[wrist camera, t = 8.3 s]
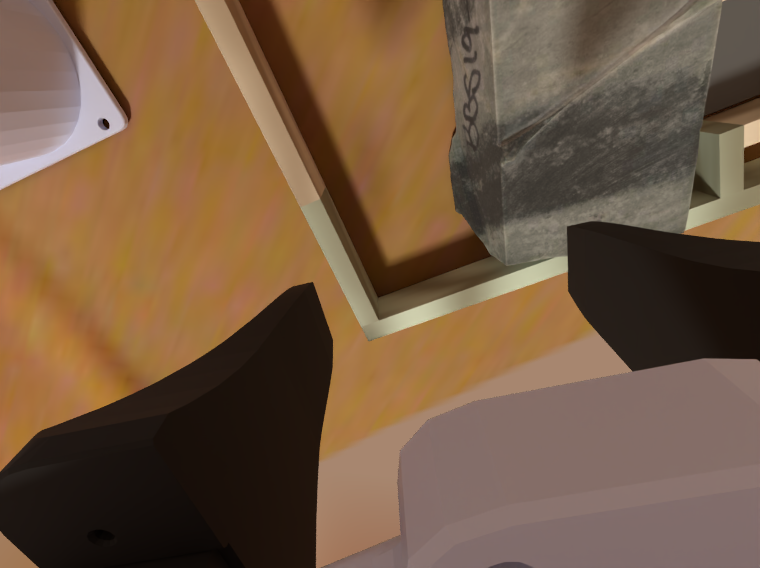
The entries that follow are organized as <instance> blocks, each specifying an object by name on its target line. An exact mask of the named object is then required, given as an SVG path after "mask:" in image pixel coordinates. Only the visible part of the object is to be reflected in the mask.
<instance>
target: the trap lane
mask: <svg viewBox="0 0 760 568" xmlns="http://www.w3.org/2000/svg"><path fill="white" fill-rule="evenodd" d="M723 1H725V0H722V2H723ZM195 2H196V4H197V6H198V8H199V10H200V12H201V14H202V16H203V17H204V19H205V21H206V23H207V25H208V27H209V29H210V31H211V33H212V35H213V37H214V39H215V41H216V43H217V45H218V47H219V49H220V51H221V53H222V55H223V57H224V59H225V61H226V63H227V65H228V66H229V68H230V70H231V72H232V74H233V76H234V78H235V80H236V82H237V84H238V86H239V88H240V90H241V92H242V94H243V96H244V98H245V100H246V102H247V104H248V106H249V108H250V110H251V112H252V114H253V116H254V117H255V119H256V121H257V123H258V125H259V127H260V129H261V131H262V133H263V135H264V137H265V139H266V141H267V143H268V145H269V147H270V149H271V151H272V153H273V155H274V157H275V159H276V161H277V163H278V165H279V166H280V168H281V170H282V172H283V174H284V176H285V178H286V180H287V182H288V184H289V186H290V188H291V190H292V192H293V194H294V196H295V198H296V200H297V202H298V204H299V206H300V208H301V210H302V212H303V214H304V216H305V217H306V219H307V221H308V223H309V225H310V227H311V229H312V231H313V233H314V235H315V237H316V239H317V241H318V243H319V245H320V247H321V249H322V251H323V253H324V255H325V257H326V259H327V261H328V263H329V265H330V266H331V268H332V270H333V272H334V274H335V276H336V278H337V280H338V282H339V284H340V286H341V288H342V290H343V292H344V294H345V296H346V298H347V300H348V302H349V304H350V306H351V308H352V310H353V312H354V314H355V316H356V317H357V319H358V321H359V323H360V325H361V327H362V329H363V331H364V333H365V335H366V337H367V339H368V341H371V340H374V339H377V338H380V337H382V336H385V335H388V334H391V333H394V332H397V331H400V330H402V329H405V328H408V327H411V326H414V325H417V324H420V323H422V322H425V321H428V320H431V319H434V318H437V317H439V316H442V315H445V314H448V313H451V312H454V311H457V310H459V309H462V308H465V307H468V306H471V305H474V304H477V303H479V302H482V301H485V300H488V299H491V298H494V297H497V296H499V295H502V294H505V293H508V292H511V291H514V290H517V289H519V288H522V287H525V286H528V285H531V284H534V283H536V282H539V281H542V280H545V279H548V278H551V277H554V276H556V275H559V274H562V273H565V272H568V256H567V257H554V258H547V259H541V260H537V261H532V262H525V263H520V264H515V265H508V266H506V265H505V264H504V263H503V262H500V261H499V260H498V259H497V258H496V257H494V256H490V257H488V258H485V259H482V260H480V261H477V262H474V263H471V264H469V265H466V266H463V267H460V268H458V269H455V270H452V271H450V272H447V273H444V274H441V275H439V276H436V277H433V278H430V279H428V280H425V281H422V282H420V283H417V284H414V285H411V286H409V287H406V288H403V289H401V290H398V291H395V292H392V293H390V294H387V295H384V296H381V297H379V298H378V297H377V294H376V292H375V290H374V288H373V286H372V284H371V282H370V279H369V277H368V275H367V273H366V271H365V269H364V267H363V265H362V262H361V260H360V258H359V256H358V254H357V252H356V250H355V247H354V245H353V243H352V241H351V239H350V237H349V235H348V233H347V230H346V228H345V226H344V224H343V222H342V220H341V218H340V215H339V213H338V211H337V209H336V207H335V205H334V203H333V201H332V198H331V196H330V194H329V192H328V190H327V188H326V186H325V183H324V181H323V179H322V177H321V175H320V173H319V171H318V169H317V166H316V164H315V162H314V160H313V158H312V156H311V154H310V151H309V149H308V147H307V145H306V143H305V141H304V139H303V137H302V134H301V132H300V130H299V128H298V126H297V124H296V122H295V119H294V117H293V115H292V113H291V111H290V109H289V107H288V105H287V102H286V100H285V98H284V96H283V94H282V92H281V90H280V87H279V85H278V83H277V81H276V79H275V77H274V75H273V73H272V70H271V68H270V66H269V64H268V62H267V60H266V58H265V56H264V53H263V51H262V49H261V47H260V45H259V43H258V41H257V38H256V36H255V34H254V32H253V30H252V28H251V26H250V24H249V21H248V19H247V17H246V15H245V13H244V11H243V9H242V6H241V4H240V2H239V0H195ZM758 142H760V97H759V98H756V99H754V100H751V101H749V102H746V103H743V104H741V105H738V106H736V107H733V108H731V109H728V110H725V111H723V112H720V113H718V114H715V115H713V116H710V117H707V118H705V119H703V124H702V127H701V129H700V137H699V148H698V157H697V163H696V169H695V176H694V182H693V189H692V195H691V202H690V208H689V214H688V219H687V224H686V229H685V230H688V229H691V228H693V227H696V226H699V225H702V224H705V223H708V222H711V221H713V220H716V219H719V218H722V217H725V216H728V215H730V214H733V213H736V212H739V211H742V210H745V209H748V208H750V207H753V206H756V205H759V204H760V158H757V159H755V160H752V161H749V162H746V163H744V148H745V147H748V146H750V145H753V144H756V143H758Z"/></svg>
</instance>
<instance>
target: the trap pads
mask: <svg viewBox="0 0 760 568" xmlns="http://www.w3.org/2000/svg"><path fill="white" fill-rule="evenodd" d="M759 94H760V0H725V1H723V2H722V8H721V16H720V22H719V28H718V34H717V40H716V46H715V52H714V58H713V64H712V70H711V76H710V82H709V87H708V92H707V98H706V103H705V109H704V116H706V115H708V114H711V113H713V112H716V111H718V110H721V109H724V108H726V107H729V106H731V105H734V104H736V103H739V102H742V101H744V100H747V99H749V98H752V97H754V96H757V95H759Z"/></svg>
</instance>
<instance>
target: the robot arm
mask: <svg viewBox="0 0 760 568" xmlns="http://www.w3.org/2000/svg"><path fill="white" fill-rule="evenodd" d="M103 119H106V120H107V121H108V122H109V124H110V127H109V129H107V128H106V127H105V126H104V125H103ZM127 125H128V118H127V116H126V114H125V112H124V111H123V109H122V108H121V106H120V105H119V103H118V102H117V100H116V98H115V97H114V95H113V94H112V92H111V91H110V89H109V88H108V86H107V84H106V83H105V81H104V80H103V78H102V77H101V75H100V74H99V72H98V70H97V69H96V67H95V66H94V64H93V63H92V61H91V60H90V58H89V56H88V55H87V53H86V52H85V50H84V49H83V47H82V46H81V44H80V42H79V41H78V39H77V38H76V36H75V35H74V33H73V32H72V30H71V29H70V27H69V25H68V24H67V22H66V21H65V19H64V18H63V16H62V15H61V13H60V11H59V10H58V8H57V7H56V5H55V4H54V2H53V1H52V0H0V190H1V189H3V188H5V187H7V186H9V185H12V184H14V183H16V182H18V181H20V180H22V179H24V178H26V177H28V176H30V175H32V174H34V173H36V172H38V171H40V170H42V169H44V168H46V167H48V166H50V165H53V164H55V163H57V162H59V161H61V160H63V159H65V158H67V157H69V156H71V155H73V154H75V153H77V152H79V151H81V150H83V149H85V148H87V147H89V146H91V145H94V144H96V143H98V142H100V141H102V140H104V139H106V138H108V137H110V136H112V135H114V134H116V133H118V132H120V131H122V130H124V129H125V128H126V127H127ZM567 255H568V292H569V293H570V295H571V297H572V298H573V300H574V302H575V303H576V305H577V306H578V308H579V310H580V311H581V313H582V314H583V316H584V317H585V318H586V320H587V321H588V322H589V323H590V324H591V325H592V327H593V328H594V329H595V330H596V331H597V332H598V333H599V335H600V336H601V337H602V338H603V339H604V340H605V341H606V342H607V343H608V345H609V346H610V347H611V348H612V349H613V350H614V351H615V352H616V353H617V355H618V356H619V357H620V358H621V359H622V360H623V361H624V362H625V363H626V365H627V366H628V367H629V368H630V369H631V370H632V371H633V372H628V373H623V374H618V375H613V376H607V377H601V378H596V379H590V380H585V381H580V382H575V383H570V384H564V385H558V386H553V387H547V388H542V389H537V390H531V391H526V392H521V393H515V394H510V395H505V396H499V397H494V398H489V399H483V400H478V401H473V402H471V403H468V404H466V405H463V406H461V407H458V408H456V409H453V410H451V411H448V412H446V413H443V414H441V415H438V416H436V417H433V418H431V419H428V420H427V421H426V422H425V423H424V424H423V425H422V427H421V428H420V429H419V430H418V431H417V432H416V433H415V434H414V435H413V437H412V438H411V439H410V440H409V441H408V442H407V443H406V444H405V445H404V447H403V448H402V449H401V450H400V457H399V470H398V499H399V513H400V514H399V515H400V531H401V535H399V536H396V537H394V538H392V539H389V540H387V541H385V542H382V543H379V544H377V545H375V546H372V547H370V548H367V549H365V550H362V551H360V552H358V553H355V554H353V555H350V556H348V557H345V558H343V559H341V560H338V561H336V562H334V563H331V564H329V565H326V566H324V567H321V568H760V242H751V241H736V240H725V239H715V238H707V237H699V236H691V235H684V234H677V233H671V232H664V231H658V230H652V229H646V228H641V227H635V226H629V225H623V224H616V223H609V222H599V221H589V222H585V223H580V224H575V225H571V226H567ZM332 367H333V339H332V336H331V333H330V330H329V327H328V324H327V321H326V318H325V315H324V313H323V310H322V307H321V304H320V301H319V298H318V295H317V292H316V289H315V286H314V284H313V282H311V283H306V284H302V285H297V286H293V287H291V288H289V289H288V290H286V291H285V292H284V293H283V294H281V295H280V296H279V297H278V298H276V299H275V300H274V301H273V302H272V303H271V304H270V305H268V306H267V307H266V308H265V309H264V310H263V311H261V312H260V313H259V314H258V315H257V316H256V317H254V318H253V319H252V320H251V321H250V322H248V323H247V324H246V325H244V326H243V327H242V328H241V329H239V330H238V331H237V332H236V333H234V334H233V335H232V336H231V337H229V338H228V339H227V340H225V341H224V342H223V343H221V344H220V345H218V346H217V347H215V348H214V349H213V350H211V351H209V352H208V353H206V354H205V355H203V356H202V357H200V358H199V359H197V360H195V361H194V362H192V363H191V364H189V365H187V366H185V367H183V368H182V369H180V370H178V371H176V372H174V373H173V374H171V375H169V376H167V377H165V378H164V379H162V380H160V381H158V382H156V383H154V384H152V385H150V386H148V387H146V388H144V389H142V390H140V391H138V392H136V393H134V394H131V395H129V396H127V397H125V398H123V399H120V400H118V401H116V402H114V403H111V404H109V405H107V406H104V407H102V408H100V409H97V410H94V411H92V412H89V413H87V414H84V415H81V416H79V417H76V418H74V419H71V420H68V421H66V422H63V423H61V424H58V425H55V426H53V427H50V428H47V429H44V430H42V431H40V432H39V433H37V434H36V435H35V436H34V437H33V438H32V439H31V440H30V441H29V442H28V443H27V444H26V445H25V446H24V447H23V448H22V450H21V451H20V452H19V453H18V454H17V455H16V456H15V457H14V458H13V459H12V460H11V461H10V462H9V463H8V464H7V465H6V466H5V467H4V468H3V470H2V471H1V472H0V531H1V532H2V533H3V535H4V536H5V537H6V538H7V539H9V540H10V541H11V542H12V543H13V544H14V545H15V546H16V547H17V548H18V549H19V550H20V551H22V552H23V553H24V554H25V555H26V556H27V557H28V558H29V559H30V560H31V561H32V562H33V563H34V564H36V565H37V566H38V567H39V568H316V512H317V484H318V466H319V449H320V440H321V433H322V427H323V421H324V415H325V410H326V404H327V398H328V392H329V386H330V380H331V374H332Z"/></svg>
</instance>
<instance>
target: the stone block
mask: <svg viewBox="0 0 760 568" xmlns="http://www.w3.org/2000/svg"><path fill="white" fill-rule="evenodd" d="M721 8H722V0H443V9H444V16H445V26H446V32H447V38H448V47H449V51H450V56H451V62H452V71H453V77H454V90H453V96H454V107H455V115H456V116H455V120H456V133H455V134H454V136H453V138H452V143H451V148H450V152H449V163H450V170H451V183H452V189H453V196H454V202H455V209H456V212H458V213H460V214H462V215H463V217H464V218H465V219H466V220H467V222H468V223H469V225H470V227H471V228H472V229H473V231H474V232H475V234H476V235H477V236H478V237H479V239H480V240H481V241H482V242H483V243H484V245H485V247H486V248H487V250H488V252H489V253H490V255H492V256H494V257H496V258H497V259H498V260H499V261H500V262H503V263H504V264H505V265H506V266H508V265H515V264H520V263H525V262H532V261H537V260H541V259H547V258H554V257H567V256H568V255H567V226H571V225H575V224H580V223H585V222H589V221H599V222H609V223H616V224H623V225H629V226H635V227H641V228H646V229H652V230H658V231H664V232H671V233H677V234H681V233H683V232H684V231H685V229H686V224H687V219H688V214H689V208H690V202H691V195H692V189H693V182H694V176H695V169H696V163H697V157H698V148H699V137H700V129H701V127H702V124H703V117H704V109H705V103H706V98H707V92H708V87H709V82H710V76H711V70H712V64H713V58H714V52H715V46H716V40H717V34H718V28H719V22H720V16H721Z"/></svg>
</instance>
